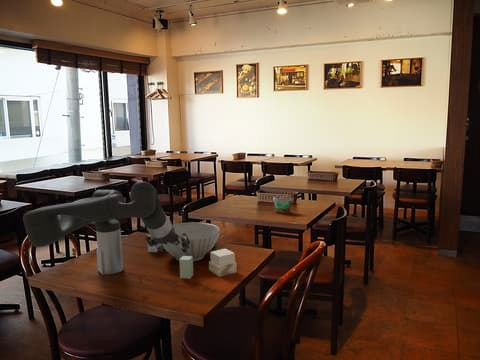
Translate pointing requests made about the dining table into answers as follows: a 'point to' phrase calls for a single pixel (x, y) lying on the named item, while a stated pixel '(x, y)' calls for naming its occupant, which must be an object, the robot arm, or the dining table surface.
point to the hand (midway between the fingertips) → (173, 250)
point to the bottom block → (222, 269)
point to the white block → (222, 257)
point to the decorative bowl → (194, 239)
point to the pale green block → (186, 267)
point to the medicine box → (152, 249)
